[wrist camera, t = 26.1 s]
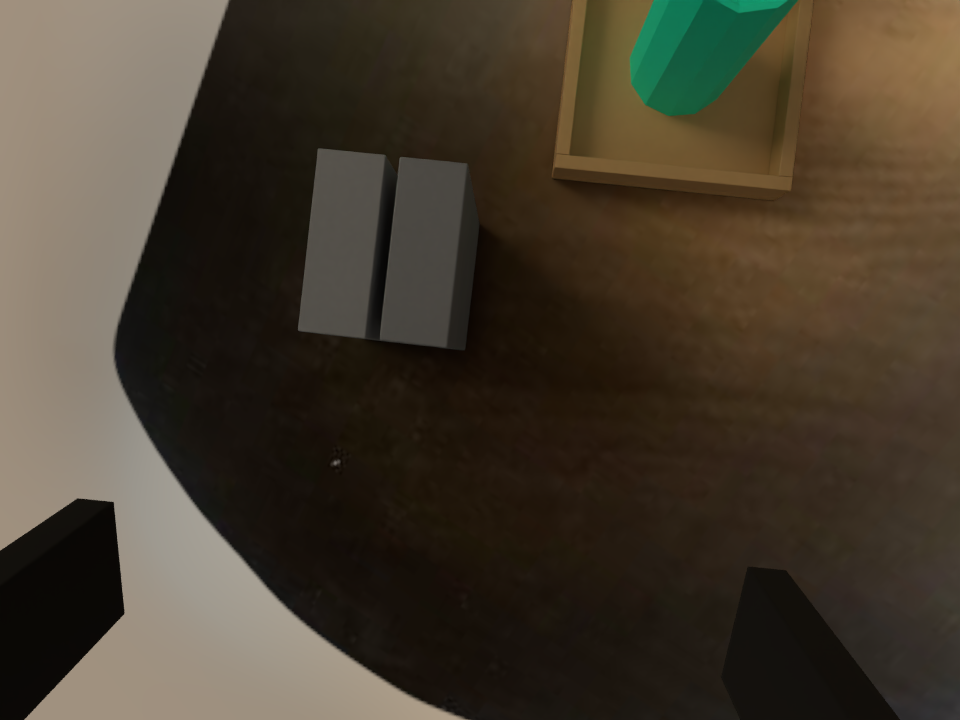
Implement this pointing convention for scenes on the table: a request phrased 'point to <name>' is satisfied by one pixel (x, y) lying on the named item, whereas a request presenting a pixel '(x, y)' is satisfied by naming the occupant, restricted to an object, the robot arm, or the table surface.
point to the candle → (698, 49)
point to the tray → (682, 138)
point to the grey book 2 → (431, 255)
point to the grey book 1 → (348, 244)
